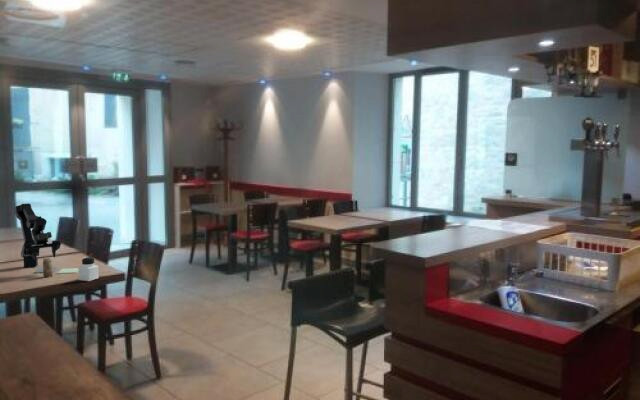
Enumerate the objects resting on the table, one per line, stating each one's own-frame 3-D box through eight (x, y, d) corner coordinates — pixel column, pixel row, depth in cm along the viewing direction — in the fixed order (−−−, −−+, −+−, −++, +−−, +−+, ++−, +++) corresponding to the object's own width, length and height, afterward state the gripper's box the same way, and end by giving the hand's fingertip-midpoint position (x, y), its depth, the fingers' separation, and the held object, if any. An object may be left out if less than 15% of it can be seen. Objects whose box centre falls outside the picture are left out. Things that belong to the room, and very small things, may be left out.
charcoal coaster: (33, 273, 285) (33, 272, 284) (38, 269, 294) (38, 268, 294) (52, 272, 287) (52, 271, 287) (57, 268, 297) (57, 267, 297)
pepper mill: (42, 277, 275) (41, 259, 274) (44, 275, 279) (43, 258, 278) (51, 277, 276) (50, 259, 275) (53, 275, 280) (52, 257, 279)
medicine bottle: (98, 278, 274) (98, 256, 273) (89, 281, 268) (88, 259, 267) (88, 277, 277) (87, 255, 276) (78, 280, 270) (77, 258, 269)
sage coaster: (57, 273, 283) (57, 272, 283) (62, 269, 293) (61, 268, 293) (76, 272, 286) (76, 271, 286) (80, 269, 296) (80, 268, 296)
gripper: (22, 229, 274) (29, 251, 267) (59, 226, 287) (66, 247, 280) (19, 241, 280) (25, 264, 274) (55, 237, 293) (62, 259, 286)
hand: (45, 258), depth 278 cm, fingers open, 9 cm apart
